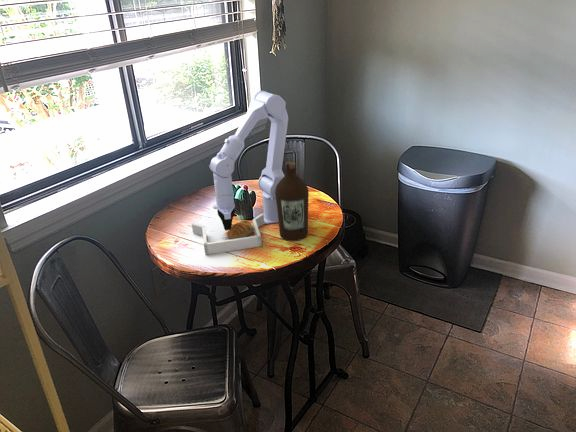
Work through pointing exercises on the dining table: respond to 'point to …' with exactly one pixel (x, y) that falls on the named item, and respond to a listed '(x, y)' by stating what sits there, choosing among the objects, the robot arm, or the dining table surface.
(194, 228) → the box
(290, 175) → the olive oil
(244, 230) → the pastry
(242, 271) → the dining table surface
